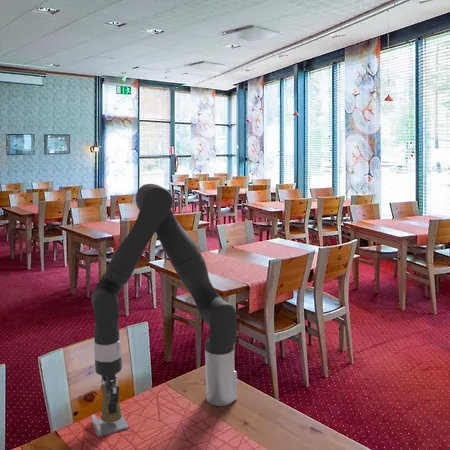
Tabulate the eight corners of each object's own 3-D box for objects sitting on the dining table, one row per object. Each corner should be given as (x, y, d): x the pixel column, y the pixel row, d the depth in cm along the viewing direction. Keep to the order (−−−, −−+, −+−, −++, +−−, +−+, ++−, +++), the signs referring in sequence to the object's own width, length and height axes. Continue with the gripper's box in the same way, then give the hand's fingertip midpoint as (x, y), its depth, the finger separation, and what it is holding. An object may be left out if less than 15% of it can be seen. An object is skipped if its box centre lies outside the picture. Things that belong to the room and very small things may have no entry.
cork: (125, 412, 151) (123, 378, 149) (116, 423, 145) (115, 388, 143) (106, 410, 152) (104, 376, 150) (97, 421, 146) (95, 386, 144)
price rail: (95, 421, 151) (95, 414, 150) (101, 435, 144) (100, 427, 143) (92, 422, 150) (91, 414, 150) (97, 436, 143) (97, 428, 143)
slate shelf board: (121, 415, 154) (121, 413, 154) (128, 428, 147) (128, 426, 147) (95, 421, 151) (95, 419, 151) (101, 435, 144) (101, 433, 143)
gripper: (90, 348, 150) (93, 401, 153) (100, 367, 137) (103, 425, 140) (115, 343, 153) (117, 396, 156) (127, 362, 140) (129, 418, 143)
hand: (111, 409), depth 148 cm, fingers closed on cork, 4 cm apart
